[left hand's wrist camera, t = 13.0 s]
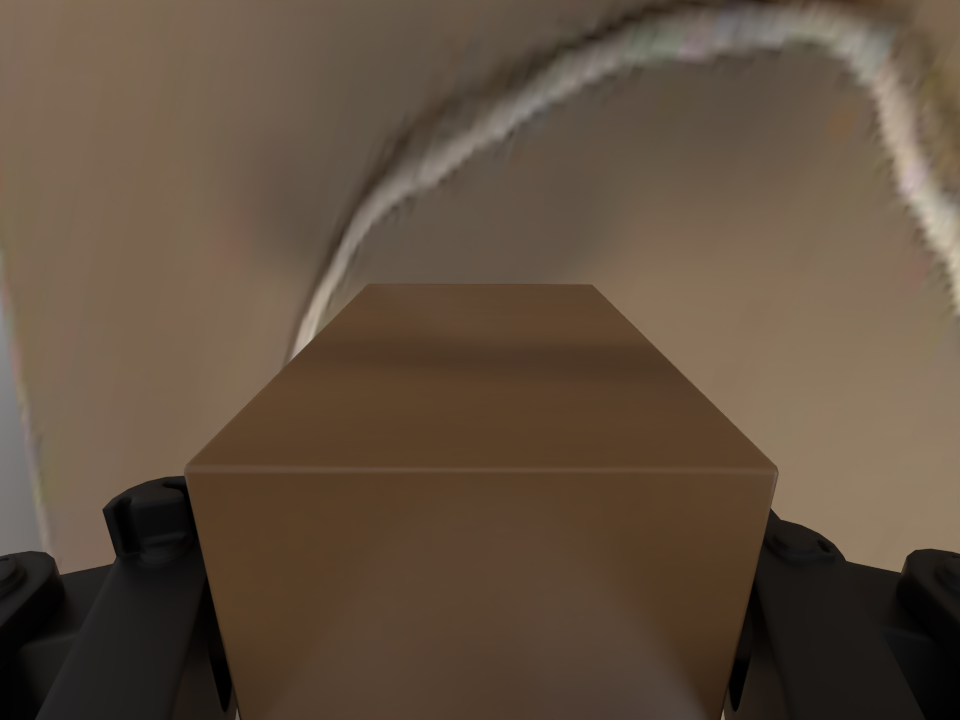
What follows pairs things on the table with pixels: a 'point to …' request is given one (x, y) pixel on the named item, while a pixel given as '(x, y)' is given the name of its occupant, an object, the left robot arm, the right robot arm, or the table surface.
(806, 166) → the table surface
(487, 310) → the bar
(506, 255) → the table surface
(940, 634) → the left robot arm
